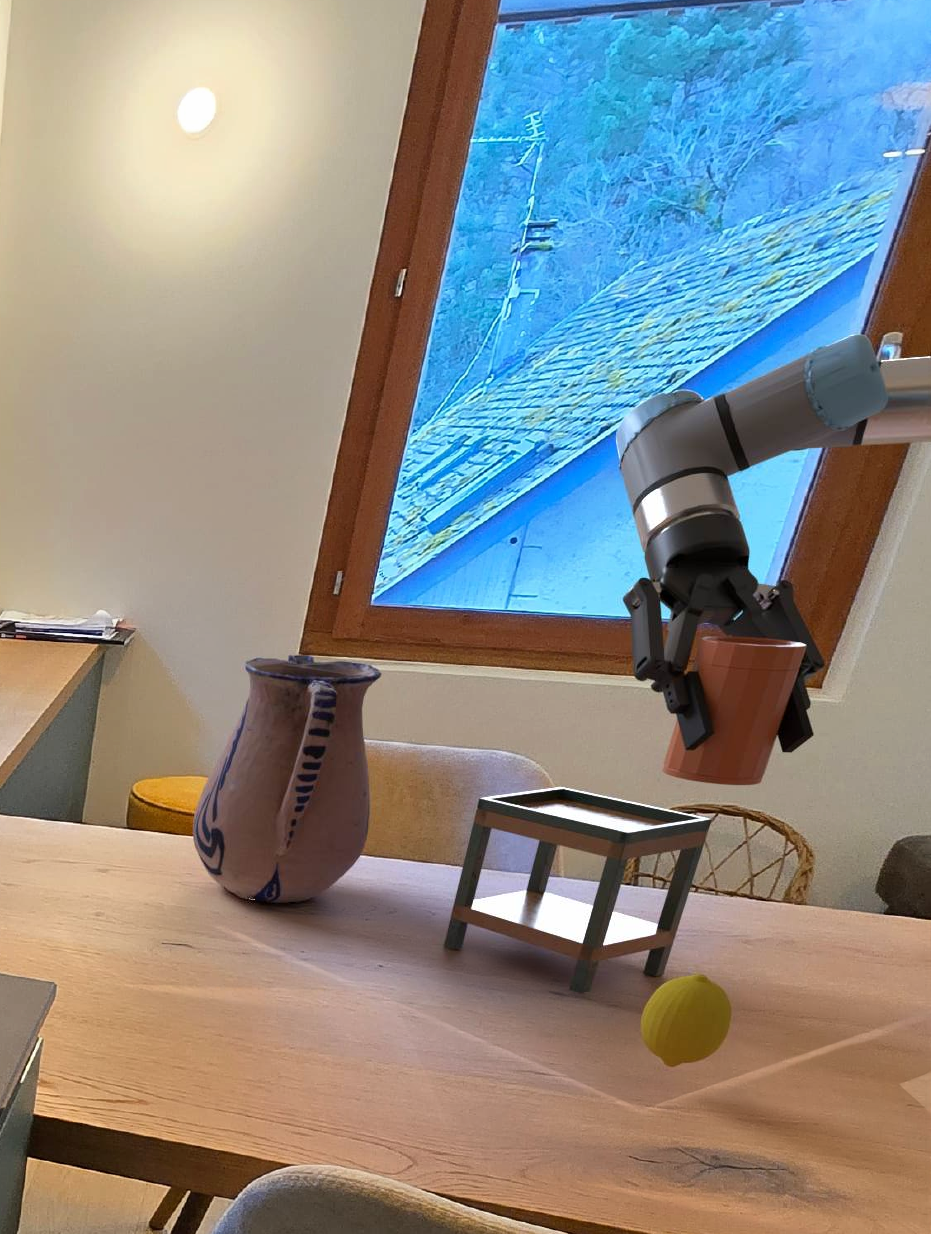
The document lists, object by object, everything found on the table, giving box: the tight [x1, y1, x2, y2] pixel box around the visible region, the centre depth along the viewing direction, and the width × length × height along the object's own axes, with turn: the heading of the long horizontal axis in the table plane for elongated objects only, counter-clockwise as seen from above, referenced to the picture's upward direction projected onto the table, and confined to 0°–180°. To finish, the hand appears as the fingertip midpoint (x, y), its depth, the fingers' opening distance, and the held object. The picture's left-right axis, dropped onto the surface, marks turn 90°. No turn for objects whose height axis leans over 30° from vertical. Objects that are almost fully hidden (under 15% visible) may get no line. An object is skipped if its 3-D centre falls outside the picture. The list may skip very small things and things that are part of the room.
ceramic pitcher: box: [192, 654, 382, 904], centre depth 140 cm, size 18×21×25 cm
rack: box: [443, 786, 713, 995], centre depth 124 cm, size 14×12×15 cm
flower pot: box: [662, 635, 807, 786], centre depth 118 cm, size 7×7×12 cm
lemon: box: [640, 973, 732, 1068], centre depth 103 cm, size 6×6×8 cm
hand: (748, 742), depth 116 cm, fingers closed on flower pot, 7 cm apart
